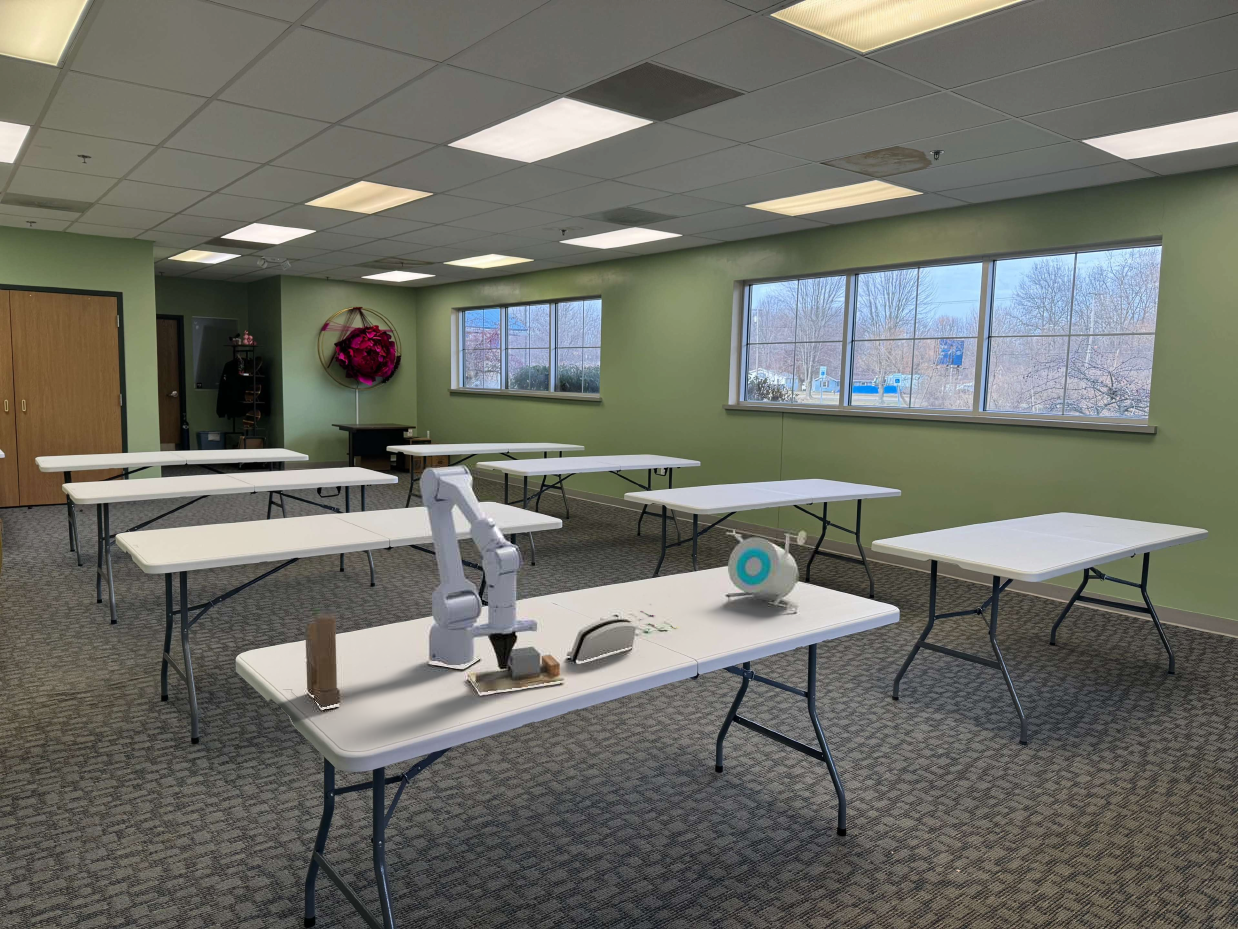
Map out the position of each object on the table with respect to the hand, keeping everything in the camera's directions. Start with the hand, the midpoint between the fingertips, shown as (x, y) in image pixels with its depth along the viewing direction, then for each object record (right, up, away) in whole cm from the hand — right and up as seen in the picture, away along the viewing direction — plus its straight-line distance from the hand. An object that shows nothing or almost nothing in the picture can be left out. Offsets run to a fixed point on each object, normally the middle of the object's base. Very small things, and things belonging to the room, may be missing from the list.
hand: (502, 667), depth 167 cm
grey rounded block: (+21, -2, +18) cm, 28 cm away
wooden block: (-34, -4, -9) cm, 35 cm away
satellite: (+66, +2, +65) cm, 92 cm away
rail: (+3, -3, +2) cm, 4 cm away
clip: (+4, -2, +2) cm, 5 cm away
